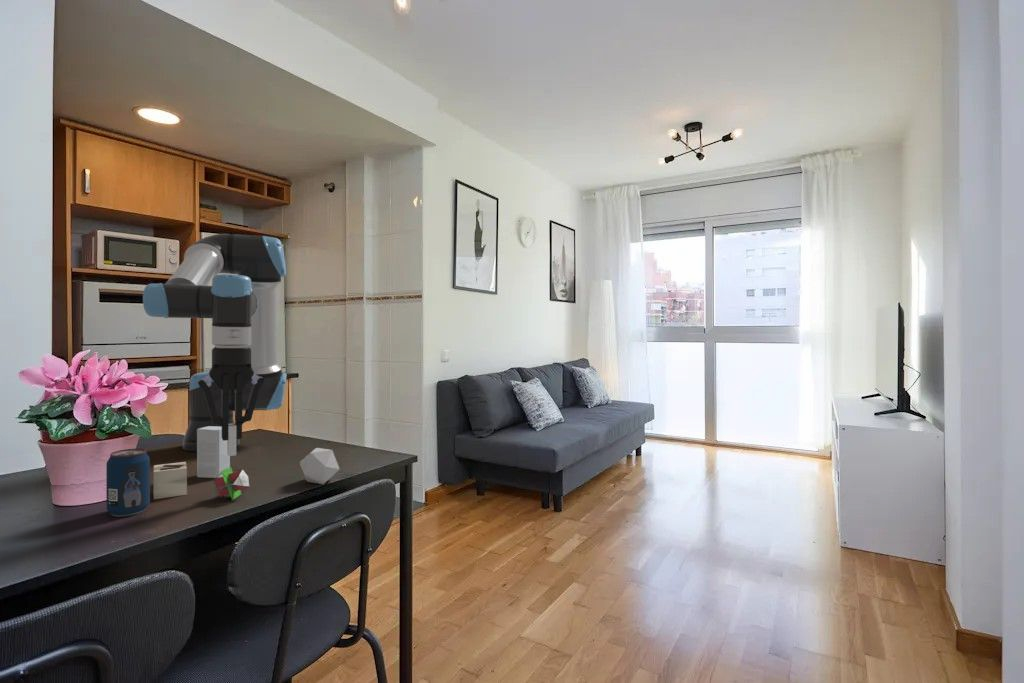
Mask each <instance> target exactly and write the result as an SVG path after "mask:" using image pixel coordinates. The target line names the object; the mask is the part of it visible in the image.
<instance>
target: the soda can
mask: <svg viewBox="0 0 1024 683" xmlns="http://www.w3.org/2000/svg"><path fill="white" fill-rule="evenodd" d="M150 464H151V460H150V456H149V454H148V453H147V449H144V448H128V449H120V450H116V451H112V452H111V453H110V455H109V458H108V459H107V461H106V465H105V466H106V469H105V470H106V472H105V474H106V479H105V480H106V482H105V483H106V484H105V485H106V511H107V512H108V513H109V514H110V515H111V516H113V517H118V518H120V517H129V516H130V517H131V516H135V515H138V514H140V513H143V512H144V511H146V509H147V508H148V506H149V505H150V503H151V478H150V477H151V476H150V475H151V472H150V471H151V465H150Z"/></svg>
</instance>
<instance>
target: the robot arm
mask: <svg viewBox="0 0 1024 683" xmlns="http://www.w3.org/2000/svg"><path fill="white" fill-rule="evenodd" d="M283 247H284V246H283V243H282V242H281V239H279V238H278V237H272V236H266V235H251V234H250V235H249V234H236V233H235V234H233V233H232V234H231V233H217V234H211V235H209V236H206V237H203V238H200V239H198V240H197V241H195V242H193V243H192V244H191V245H190V246H188V247H187V249H186V250H185V252H184V254H183V255H184V256H183V260H182V262H181V264H179V265H178V267H177V268H176V270H175V271H174V272H173V274H171V276H170V277H169V278H168V280H167V281H166V282H165V283H162V282H159V283H158V282H157V283H149V284H146V286H145V287H144V289H143V293H142V303H143V304H142V305H143V309H144V312H145V314H146V315H148V316H150V317H153V318H164V319H171V318H172V319H173V318H174V319H211V322H212V323H211V345H212V346H214V347H213V348H212V349H211V368H210V370H209V371H203V372H198V373H194V374H193V375H191V377H190V378H189V389H188V391H189V423H188V426H187V428H186V431H185V435H183V440H182V450H184V451H187V452H197V429H199V428H203V427H207V426H218V427H222V439H223V441H225V440H227V454H228V456H230V457H234V456H237V446H239V445H240V442H241V441H240V440H241V439H242V437H243V424H245V423H247V422H251V421H252V417H253V414H254V411H271V410H272V411H273V410H278V409H280V408H282V406H283V402H284V397H285V392H286V384H287V373H286V372H283V370H282V366H281V365H280V364H279V363H278V362H277V314H276V313H277V307H276V306H277V303H276V302H277V301H276V299H277V298H276V297H277V296H276V294H277V293H276V292H277V290H276V289H277V287H278V286H279V284H281V283H282V278H283V277H286V276H287V267H286V266H287V264H286V259H285V250H284V248H283ZM210 282H211V285H209V283H210ZM243 412H244V414H243Z"/></svg>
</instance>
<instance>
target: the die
mask: <svg viewBox="0 0 1024 683" xmlns="http://www.w3.org/2000/svg"><path fill="white" fill-rule="evenodd" d="M298 463H299V466H300V467H301V470H302V472H303V474H304V478H305V481H306V482H308V483H313V484H317V483H318V484H317V485H325V484H326V483H327V481H329V480H330V479H331V478H332V477H333V476H334V475H335V474H336V473H338V471H339V470H340V469H341V468H340V467H339V463H338V461H337V459H336V457H335V453H334V450H332V449H327V448H321V447H316V448H314V449H313V450H311V452H309V453H308V454H307V455H306V456H305V457H303V459H301V460H300V461H299V462H298Z"/></svg>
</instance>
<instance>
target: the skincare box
mask: <svg viewBox="0 0 1024 683" xmlns="http://www.w3.org/2000/svg"><path fill="white" fill-rule="evenodd" d="M196 457H197V458H196V477H197V478H205V479H206V478H207V479H215V478H216V479H217V478H220V477H223V476H222V473H221V471H223V470H225V469H227V468H229V467H230V466H231V456H228V454H227V440H225V441H223V439H222V427H218V426H207V427H203V428H199V429H197V451H196ZM219 473H221V475H220V474H219ZM218 474H219V475H220V477H219V475H218Z"/></svg>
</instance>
